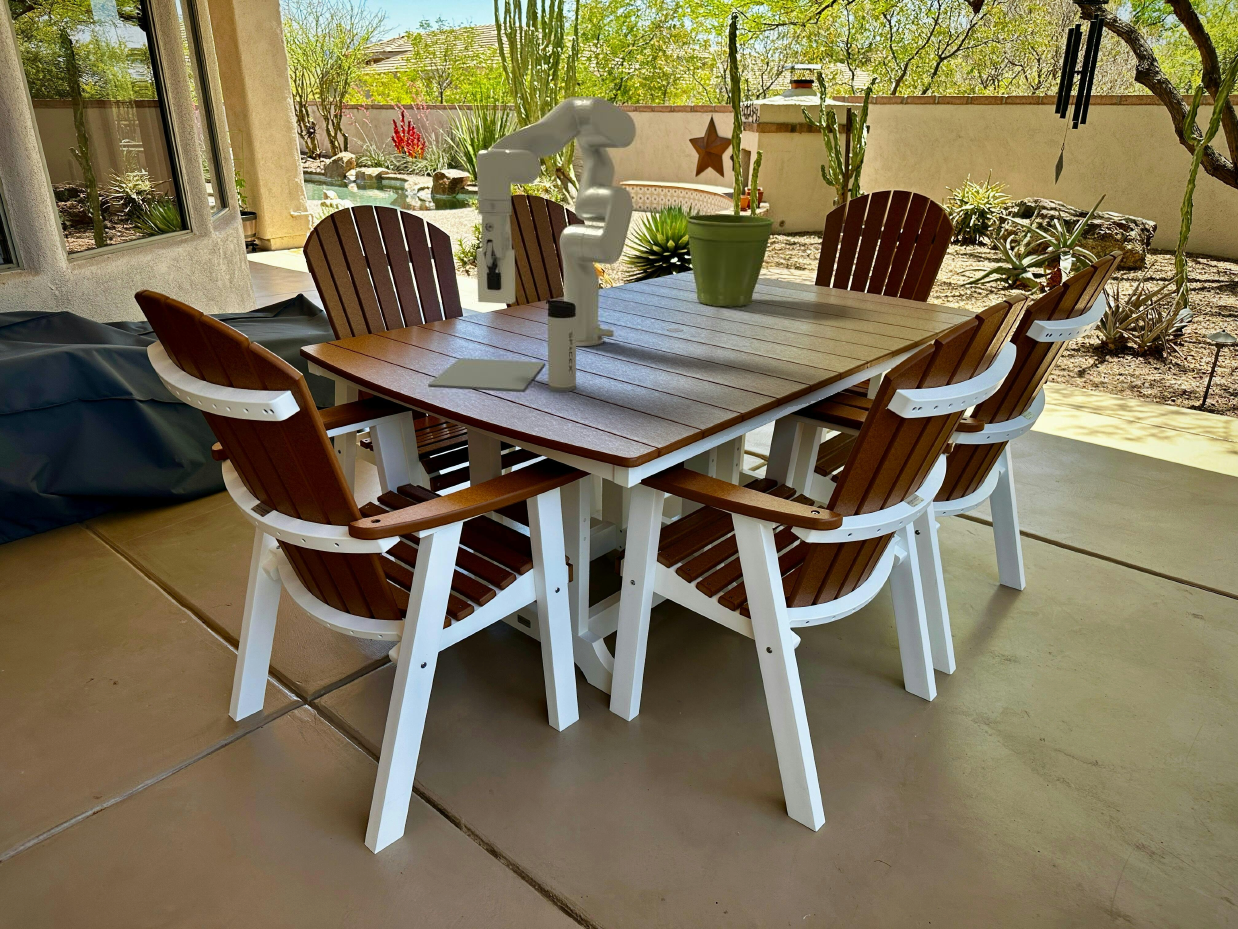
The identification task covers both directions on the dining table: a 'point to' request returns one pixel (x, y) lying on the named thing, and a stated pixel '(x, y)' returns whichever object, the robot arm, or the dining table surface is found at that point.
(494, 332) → the dining table surface
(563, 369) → the travel mug
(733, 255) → the plant pot
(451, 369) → the mat
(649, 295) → the dining table surface
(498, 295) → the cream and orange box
